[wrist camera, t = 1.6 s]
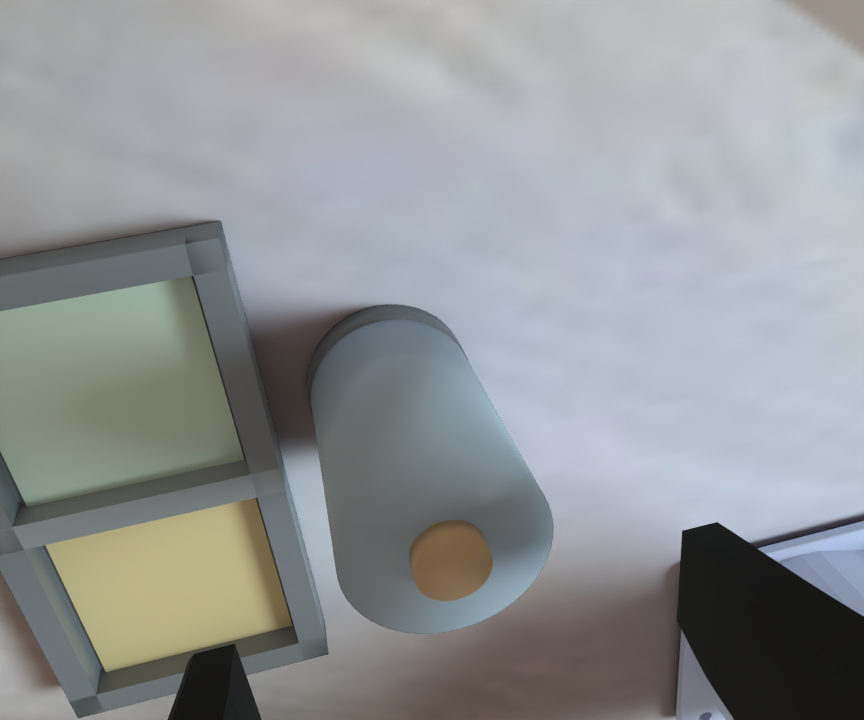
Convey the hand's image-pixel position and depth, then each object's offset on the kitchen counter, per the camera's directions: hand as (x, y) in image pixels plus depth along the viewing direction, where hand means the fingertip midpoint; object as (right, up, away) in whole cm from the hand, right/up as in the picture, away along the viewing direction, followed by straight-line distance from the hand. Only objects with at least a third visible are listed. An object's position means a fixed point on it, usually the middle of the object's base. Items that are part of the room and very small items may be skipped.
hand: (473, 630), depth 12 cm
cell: (-2, +4, +7) cm, 8 cm away
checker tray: (-8, +1, +7) cm, 11 cm away
